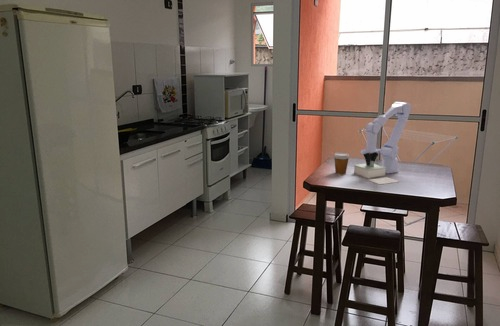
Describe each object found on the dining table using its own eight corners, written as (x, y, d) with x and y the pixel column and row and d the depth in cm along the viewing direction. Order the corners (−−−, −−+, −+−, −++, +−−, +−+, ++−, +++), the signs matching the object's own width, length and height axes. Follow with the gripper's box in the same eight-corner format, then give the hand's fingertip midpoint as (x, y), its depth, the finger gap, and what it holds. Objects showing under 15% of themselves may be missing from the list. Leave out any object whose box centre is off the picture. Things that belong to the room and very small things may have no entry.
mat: (387, 177, 248) (387, 177, 248) (399, 182, 239) (399, 181, 239) (368, 180, 242) (368, 179, 242) (379, 184, 233) (379, 184, 233)
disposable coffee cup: (348, 175, 253) (349, 156, 250) (332, 174, 255) (333, 155, 252) (348, 171, 262) (349, 153, 259) (332, 170, 264) (333, 152, 261)
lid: (371, 165, 262) (371, 157, 261) (385, 170, 251) (386, 161, 249) (354, 167, 257) (354, 159, 256) (368, 172, 246) (368, 163, 244)
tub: (370, 171, 263) (371, 164, 262) (385, 176, 252) (385, 168, 250) (354, 173, 258) (354, 166, 257) (367, 178, 246) (368, 171, 245)
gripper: (376, 140, 257) (375, 162, 260) (357, 142, 251) (356, 164, 254) (384, 142, 250) (382, 164, 253) (365, 144, 245) (363, 167, 248)
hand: (370, 164), depth 253 cm, fingers closed on lid, 2 cm apart
